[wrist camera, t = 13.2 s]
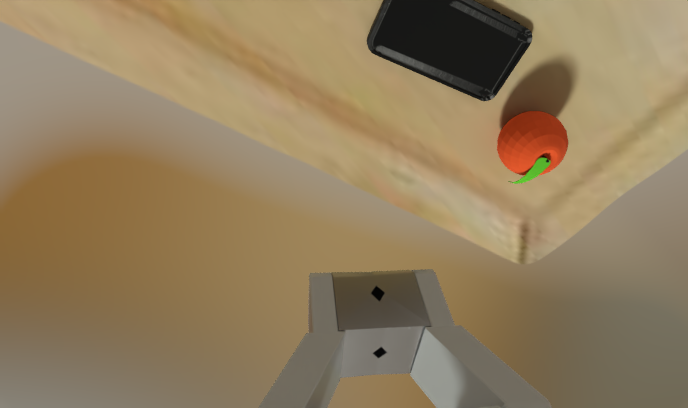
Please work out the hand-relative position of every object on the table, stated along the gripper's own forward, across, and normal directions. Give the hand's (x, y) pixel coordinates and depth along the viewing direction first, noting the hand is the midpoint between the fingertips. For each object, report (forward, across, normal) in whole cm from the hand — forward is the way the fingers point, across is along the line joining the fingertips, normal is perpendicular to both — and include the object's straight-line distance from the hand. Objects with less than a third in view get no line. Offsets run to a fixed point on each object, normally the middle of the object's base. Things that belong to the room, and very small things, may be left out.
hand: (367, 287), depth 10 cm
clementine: (+34, +24, -14) cm, 43 cm away
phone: (+34, +14, -4) cm, 37 cm away
